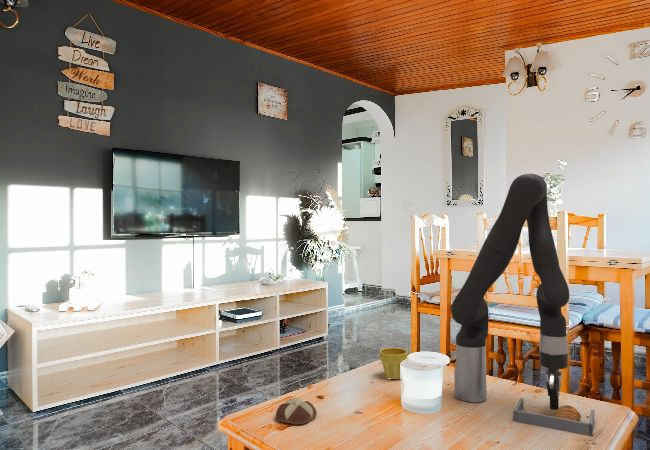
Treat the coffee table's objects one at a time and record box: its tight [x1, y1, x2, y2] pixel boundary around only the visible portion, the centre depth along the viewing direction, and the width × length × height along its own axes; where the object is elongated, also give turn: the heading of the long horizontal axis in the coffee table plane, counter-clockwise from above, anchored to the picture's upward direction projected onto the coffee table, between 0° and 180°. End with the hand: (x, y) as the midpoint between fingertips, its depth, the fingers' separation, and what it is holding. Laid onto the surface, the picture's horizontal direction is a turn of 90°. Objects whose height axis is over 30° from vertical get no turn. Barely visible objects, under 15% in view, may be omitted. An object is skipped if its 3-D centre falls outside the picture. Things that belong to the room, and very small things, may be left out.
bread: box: [275, 398, 317, 425], centre depth 143 cm, size 11×11×5 cm
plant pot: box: [379, 347, 409, 380], centre depth 178 cm, size 10×10×10 cm
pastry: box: [553, 404, 582, 422], centre depth 137 cm, size 9×7×4 cm
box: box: [512, 398, 595, 437], centre depth 138 cm, size 20×11×3 cm, turn 58°
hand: (554, 408), depth 143 cm, fingers closed
